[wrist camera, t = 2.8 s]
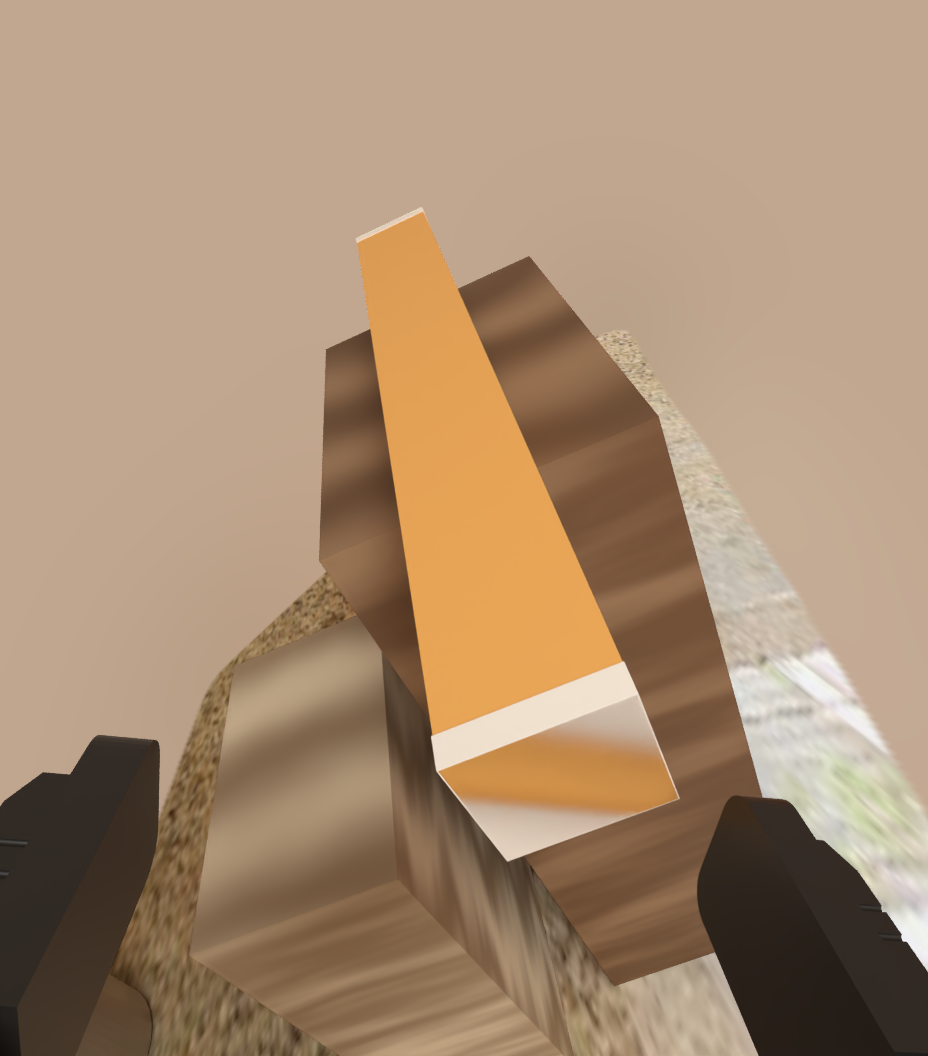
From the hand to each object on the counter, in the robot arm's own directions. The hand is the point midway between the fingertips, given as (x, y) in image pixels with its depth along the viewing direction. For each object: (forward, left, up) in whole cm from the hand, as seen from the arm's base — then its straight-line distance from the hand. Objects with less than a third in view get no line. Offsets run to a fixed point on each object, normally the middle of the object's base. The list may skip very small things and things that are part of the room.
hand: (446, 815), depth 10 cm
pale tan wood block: (-9, +11, -2) cm, 14 cm away
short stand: (-18, +3, -34) cm, 39 cm away
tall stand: (-12, +14, -34) cm, 39 cm away
